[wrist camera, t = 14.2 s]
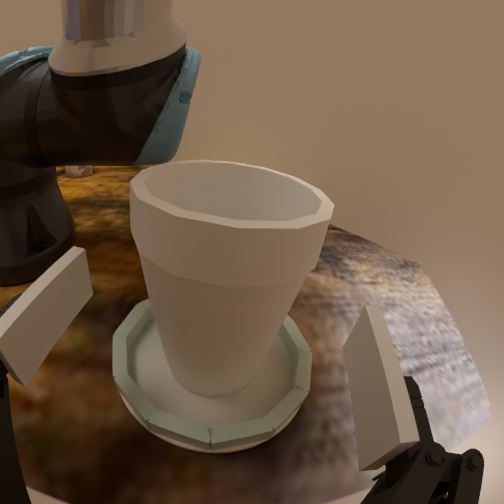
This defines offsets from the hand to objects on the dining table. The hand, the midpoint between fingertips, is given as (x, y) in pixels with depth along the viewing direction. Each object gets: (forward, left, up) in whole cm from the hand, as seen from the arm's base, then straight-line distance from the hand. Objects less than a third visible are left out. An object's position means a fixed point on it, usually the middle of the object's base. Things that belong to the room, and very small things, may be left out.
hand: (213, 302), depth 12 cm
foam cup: (-3, +1, -9) cm, 9 cm away
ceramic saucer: (-3, +1, -9) cm, 10 cm away
